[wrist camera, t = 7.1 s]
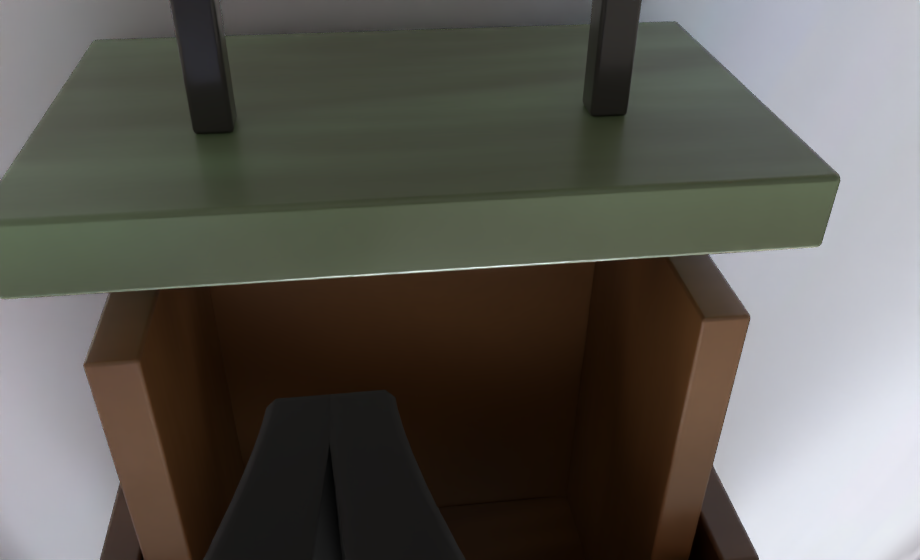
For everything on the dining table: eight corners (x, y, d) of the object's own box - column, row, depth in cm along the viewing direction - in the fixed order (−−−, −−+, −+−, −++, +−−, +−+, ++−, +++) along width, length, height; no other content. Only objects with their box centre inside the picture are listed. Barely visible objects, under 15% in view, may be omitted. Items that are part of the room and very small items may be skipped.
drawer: (20, -263, 13) (-199, -228, 8) (721, -257, 15) (964, -225, 9) (206, 517, 24) (169, 770, 18) (605, 479, 25) (685, 705, 19)
